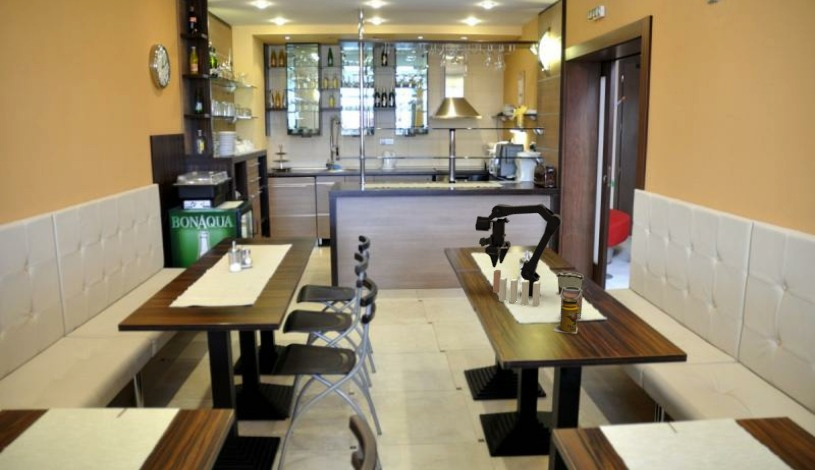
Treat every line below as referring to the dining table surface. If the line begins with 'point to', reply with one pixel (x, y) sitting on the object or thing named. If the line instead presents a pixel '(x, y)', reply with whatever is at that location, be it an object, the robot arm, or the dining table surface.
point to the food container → (569, 280)
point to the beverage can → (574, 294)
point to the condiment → (568, 317)
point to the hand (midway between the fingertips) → (497, 265)
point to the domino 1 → (496, 281)
